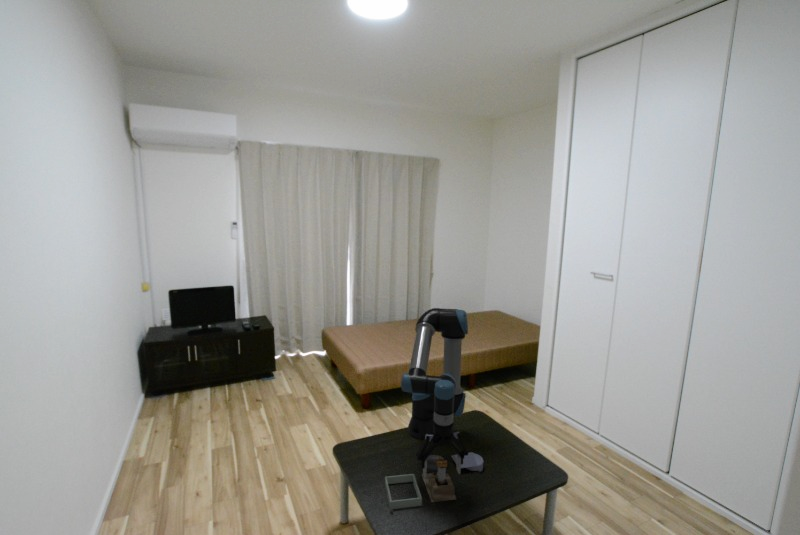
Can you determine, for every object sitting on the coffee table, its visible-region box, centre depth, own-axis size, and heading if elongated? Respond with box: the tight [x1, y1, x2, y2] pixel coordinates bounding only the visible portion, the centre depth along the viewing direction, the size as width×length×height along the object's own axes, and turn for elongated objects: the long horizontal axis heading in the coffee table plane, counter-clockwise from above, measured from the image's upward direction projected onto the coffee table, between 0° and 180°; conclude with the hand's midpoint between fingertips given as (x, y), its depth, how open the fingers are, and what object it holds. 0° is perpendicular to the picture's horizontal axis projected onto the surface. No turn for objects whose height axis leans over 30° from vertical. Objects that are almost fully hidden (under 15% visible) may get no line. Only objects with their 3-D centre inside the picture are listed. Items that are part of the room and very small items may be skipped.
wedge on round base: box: [451, 452, 484, 473], centre depth 163 cm, size 9×7×13 cm
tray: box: [384, 473, 423, 513], centre depth 144 cm, size 14×12×4 cm
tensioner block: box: [421, 454, 457, 503], centre depth 149 cm, size 17×10×9 cm, turn 10°
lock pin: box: [437, 458, 448, 486], centre depth 145 cm, size 4×4×13 cm
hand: (441, 473), depth 144 cm, fingers open, 13 cm apart
